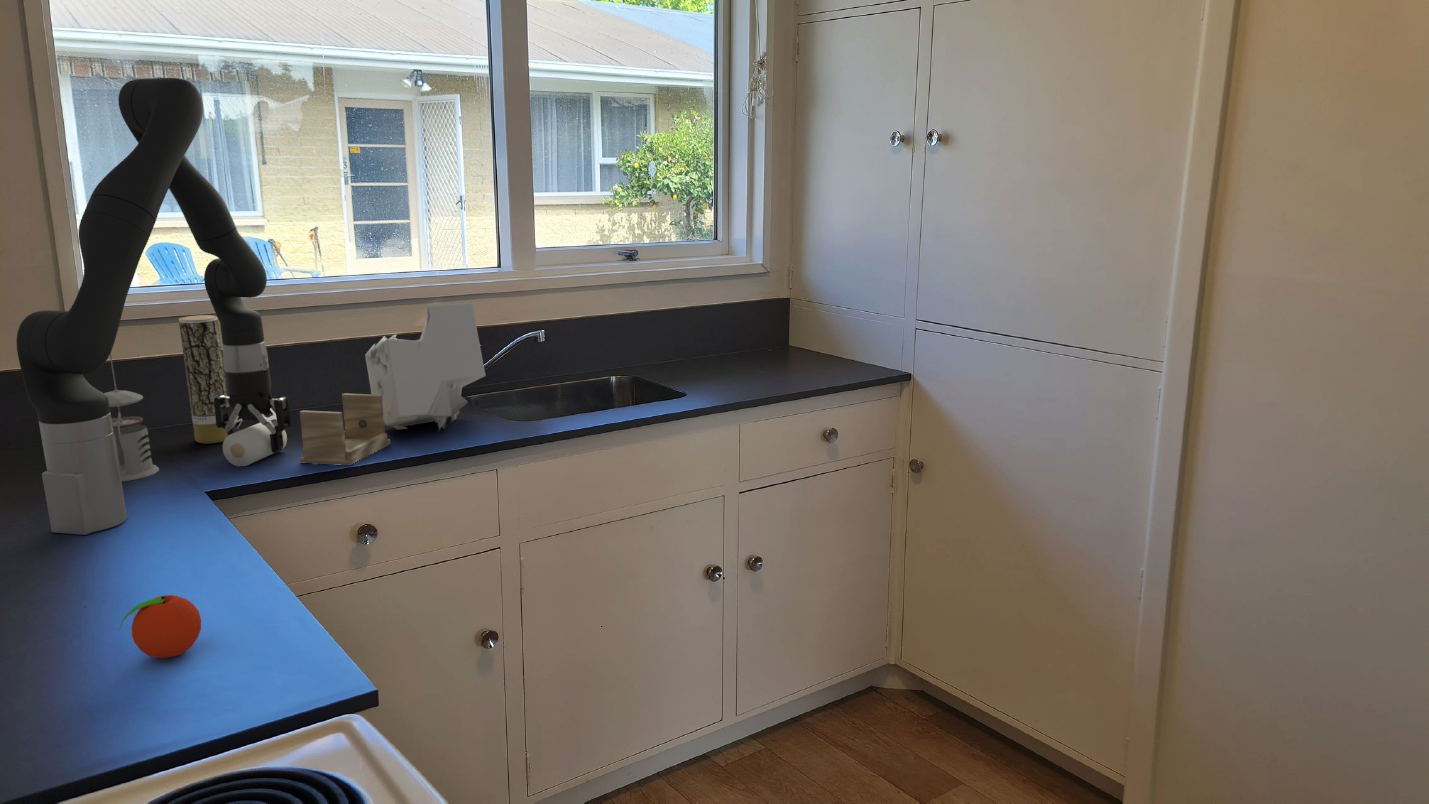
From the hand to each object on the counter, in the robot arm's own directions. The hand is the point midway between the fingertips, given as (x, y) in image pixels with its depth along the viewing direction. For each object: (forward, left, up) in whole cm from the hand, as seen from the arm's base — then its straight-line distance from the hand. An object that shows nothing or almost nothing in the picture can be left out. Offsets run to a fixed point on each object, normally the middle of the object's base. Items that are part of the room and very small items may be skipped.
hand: (257, 450), depth 186 cm
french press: (-13, +17, -2) cm, 22 cm away
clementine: (-71, -39, -2) cm, 81 cm away
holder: (+6, -15, -2) cm, 16 cm away
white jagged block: (+27, -21, -2) cm, 34 cm away
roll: (0, 0, -2) cm, 2 cm away
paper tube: (+10, +17, -2) cm, 20 cm away
